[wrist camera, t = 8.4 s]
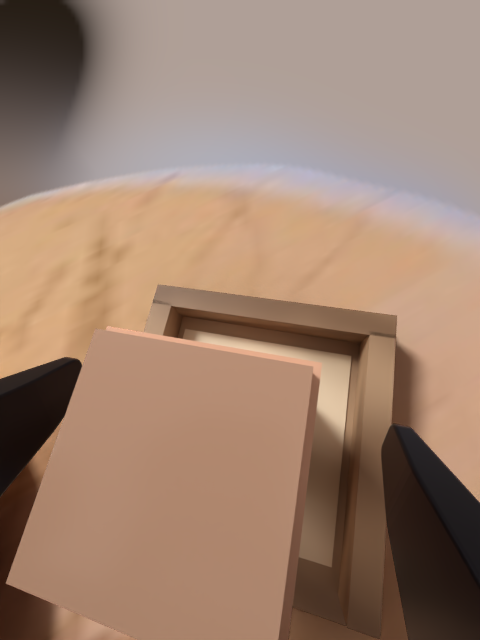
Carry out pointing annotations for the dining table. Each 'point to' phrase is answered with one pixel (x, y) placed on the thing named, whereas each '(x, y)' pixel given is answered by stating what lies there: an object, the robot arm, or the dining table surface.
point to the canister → (175, 490)
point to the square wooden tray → (318, 432)
